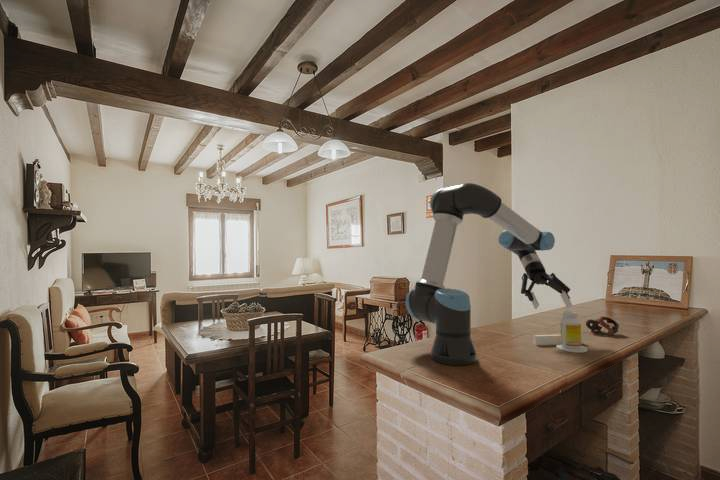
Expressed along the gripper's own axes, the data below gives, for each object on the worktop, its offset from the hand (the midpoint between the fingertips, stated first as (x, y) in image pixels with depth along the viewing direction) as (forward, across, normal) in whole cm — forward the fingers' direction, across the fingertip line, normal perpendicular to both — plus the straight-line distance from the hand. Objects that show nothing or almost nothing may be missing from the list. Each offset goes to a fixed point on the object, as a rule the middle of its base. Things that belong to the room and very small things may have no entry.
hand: (553, 307), depth 143 cm
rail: (+12, 0, -7) cm, 14 cm away
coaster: (+17, -1, -2) cm, 17 cm away
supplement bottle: (+16, 0, -2) cm, 17 cm away
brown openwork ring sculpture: (+3, -28, -17) cm, 32 cm away
